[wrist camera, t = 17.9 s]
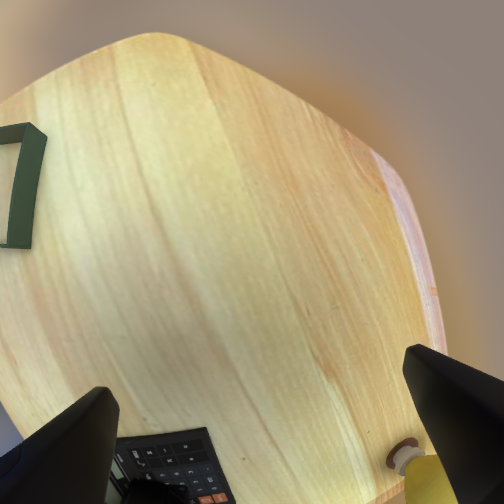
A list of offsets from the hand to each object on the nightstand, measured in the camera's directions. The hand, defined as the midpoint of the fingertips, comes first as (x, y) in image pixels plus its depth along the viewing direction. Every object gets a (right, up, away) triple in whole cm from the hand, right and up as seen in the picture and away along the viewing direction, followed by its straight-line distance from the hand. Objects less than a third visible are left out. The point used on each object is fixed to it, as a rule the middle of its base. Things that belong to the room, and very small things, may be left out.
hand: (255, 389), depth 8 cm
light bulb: (+15, -17, +14) cm, 26 cm away
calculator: (-8, -15, +11) cm, 20 cm away
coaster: (+15, -17, +14) cm, 26 cm away
